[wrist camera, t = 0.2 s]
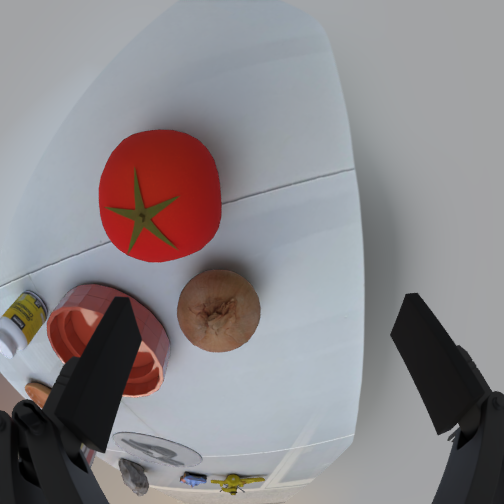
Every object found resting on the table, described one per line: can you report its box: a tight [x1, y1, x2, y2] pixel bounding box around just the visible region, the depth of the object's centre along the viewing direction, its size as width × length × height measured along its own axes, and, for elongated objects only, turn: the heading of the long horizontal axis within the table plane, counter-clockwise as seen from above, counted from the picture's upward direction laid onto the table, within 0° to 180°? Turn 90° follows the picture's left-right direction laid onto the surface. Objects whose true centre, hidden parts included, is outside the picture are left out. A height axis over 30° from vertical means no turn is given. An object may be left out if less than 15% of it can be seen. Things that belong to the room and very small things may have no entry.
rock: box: [118, 459, 149, 496], centre depth 68 cm, size 16×10×15 cm, turn 160°
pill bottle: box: [0, 291, 47, 359], centre depth 31 cm, size 6×6×12 cm
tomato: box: [99, 130, 221, 262], centre depth 23 cm, size 11×12×10 cm
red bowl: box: [47, 284, 170, 398], centre depth 35 cm, size 19×19×6 cm
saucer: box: [25, 383, 51, 408], centre depth 50 cm, size 16×16×3 cm
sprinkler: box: [211, 474, 265, 495], centre depth 72 cm, size 19×8×20 cm
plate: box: [113, 432, 202, 467], centre depth 62 cm, size 28×28×1 cm
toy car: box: [180, 472, 207, 487], centre depth 72 cm, size 8×15×5 cm, turn 156°
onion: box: [177, 269, 261, 352], centre depth 30 cm, size 10×9×10 cm
